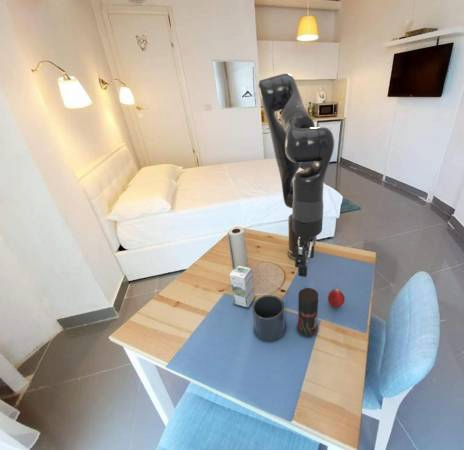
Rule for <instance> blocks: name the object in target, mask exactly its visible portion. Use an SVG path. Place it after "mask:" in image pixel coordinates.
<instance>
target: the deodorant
mask: <svg viewBox="0 0 464 450" xmlns="http://www.w3.org/2000/svg"><path fill="white" fill-rule="evenodd" d="M297 307H298V309H297V312H298V316H297V317H298V318H297V320H298V323H297V329H298V332H299V334H300V335H302V336H303V337H311V336H314V335H315V334H316V332H317V324H318V310H319V309H318V308H319V293H318V291H317V290H315V289H314V288H311V287H303V288H302V289H300V290H299V292H298V305H297Z"/></svg>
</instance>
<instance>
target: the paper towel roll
mask: <svg viewBox="0 0 464 450" xmlns="http://www.w3.org/2000/svg"><path fill="white" fill-rule="evenodd" d="M245 235H246V234H245V229H244V228H243V227H239V226H238V227H237V226H236V227H232V228H230V229H229V230H228V232H227V242H228V250H229V256H230V263H231V269H232V270H231V271H233V269H234V268H235V267H236V266H237V265H238V266H242V267H247V268H249V261H248V254H247V245H246V238H245Z"/></svg>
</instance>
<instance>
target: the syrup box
mask: <svg viewBox="0 0 464 450" xmlns="http://www.w3.org/2000/svg"><path fill="white" fill-rule="evenodd" d="M252 274H253V273H252V268H251V267H248V268H247V267H242V266H238V265H237V266H236V267H235V268H234V269H233V270H231V272H230V273H229V279H230V285H231V292H232V296H233V303H234V305H237V306H240V307H243V308H249V307H250V305H251V304H252V302H253V300H254V299H255V293H254V284H253V275H252Z"/></svg>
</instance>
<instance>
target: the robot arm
mask: <svg viewBox="0 0 464 450" xmlns="http://www.w3.org/2000/svg"><path fill="white" fill-rule="evenodd" d="M257 88H258V95H259V99H260V102H261V103H260V104H261V106H262V109H263V112H264V117H265V120H266V123H267V126H268V129H269V134H270V139H271V144H272V148H273V153H274V158H275V161H276V164H277V168H278V173H279V178H280V182H281V189H282V191H281V192H282V198H283V202H284V205H285V206H286V207H287V208H288V209H292V210H291V214H289V216H288V219H287V224H288V226H287V228H288V229H287V230H288V248H287V251H288V257H290V258H291V259H292V260H294V267H295V268H297V275H298V276H299V277H303V278H307V276H308V265H309V264H308V261H309V259H313V258H314V257H315V246H316V242H317V240H318V239H317V236H319V235H320V234H321V233H322V231H323V221H324V184H325V178H326V175H327V172H328V168H329V166H330V162H331V159H332V156H333V154H334V149H335V138H334V134H333V132H332V131H331V129H329V128H328V127H324V126H318V127H315V122H314V120H313V118H312V116H311V115H310V113H309V112H308V111H307V109H306V107H305V105H304V102H303V99H302V96H301V93H300V90H299V87H298V85H297V82H296V80H295V78H294V77H293V76H292V74H290V73H282V74H281V73H280V74H277V75H274V76H270V77H265V78H263V79H261V80H259V82H258V85H257ZM276 112H280V117H279V119H280V121H279V119H278V118H277V116H276ZM302 163H303V164H304V163H311V165H310V166H309V167H308V168H305V169H303V170H300V171H299V169H300V167H301V165H302Z"/></svg>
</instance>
